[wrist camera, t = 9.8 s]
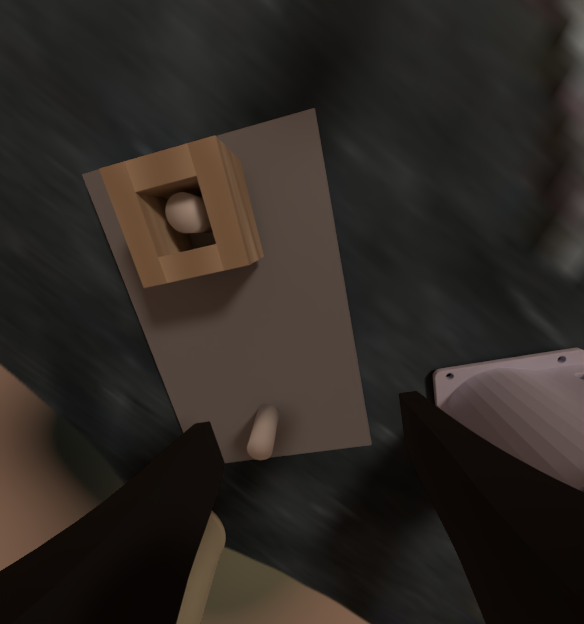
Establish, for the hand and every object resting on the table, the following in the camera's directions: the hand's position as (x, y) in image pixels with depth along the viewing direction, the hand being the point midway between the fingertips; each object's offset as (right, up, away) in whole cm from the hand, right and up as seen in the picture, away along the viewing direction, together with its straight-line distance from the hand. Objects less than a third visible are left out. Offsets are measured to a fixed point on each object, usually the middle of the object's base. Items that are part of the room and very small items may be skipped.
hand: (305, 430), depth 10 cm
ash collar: (-5, +10, +5) cm, 12 cm away
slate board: (-4, +4, +9) cm, 10 cm away
